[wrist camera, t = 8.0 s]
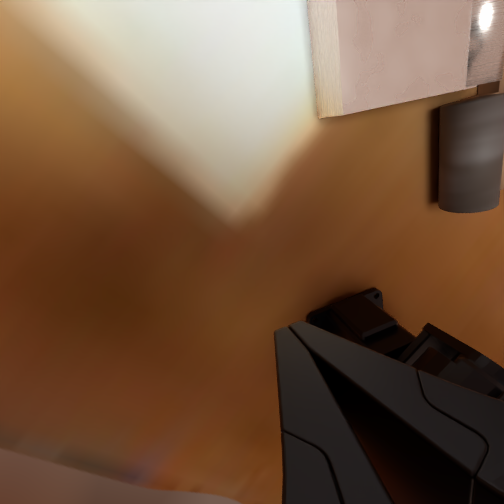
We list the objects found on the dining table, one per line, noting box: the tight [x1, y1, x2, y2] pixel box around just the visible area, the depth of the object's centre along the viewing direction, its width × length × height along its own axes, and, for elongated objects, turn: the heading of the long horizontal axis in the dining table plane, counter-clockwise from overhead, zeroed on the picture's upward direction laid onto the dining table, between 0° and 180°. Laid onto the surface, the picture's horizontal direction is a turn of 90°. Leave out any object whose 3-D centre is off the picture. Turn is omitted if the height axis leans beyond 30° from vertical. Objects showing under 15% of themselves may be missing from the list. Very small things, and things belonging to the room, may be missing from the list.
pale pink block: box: [307, 0, 504, 118], centre depth 17 cm, size 7×11×4 cm, turn 101°
